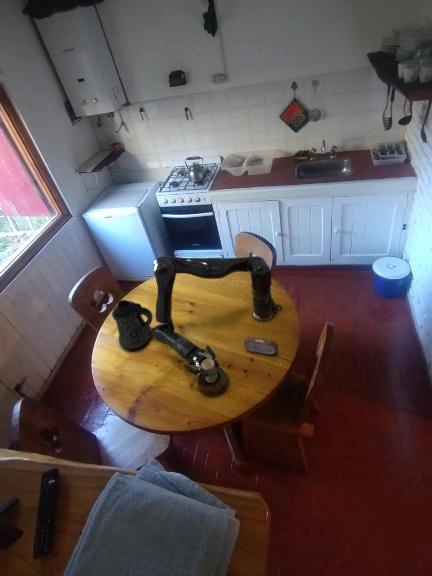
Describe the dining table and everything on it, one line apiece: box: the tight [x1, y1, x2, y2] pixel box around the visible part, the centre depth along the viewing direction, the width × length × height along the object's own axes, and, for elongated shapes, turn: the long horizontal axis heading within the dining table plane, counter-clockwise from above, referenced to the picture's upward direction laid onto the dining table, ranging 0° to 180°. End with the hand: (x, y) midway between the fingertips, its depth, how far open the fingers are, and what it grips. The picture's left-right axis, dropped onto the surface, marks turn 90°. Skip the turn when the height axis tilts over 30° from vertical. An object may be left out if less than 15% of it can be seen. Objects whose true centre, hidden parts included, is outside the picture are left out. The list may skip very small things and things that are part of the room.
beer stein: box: [111, 299, 153, 352], centre depth 166 cm, size 16×19×25 cm
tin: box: [243, 336, 279, 356], centre depth 153 cm, size 15×3×8 cm, turn 71°
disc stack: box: [200, 359, 218, 382], centre depth 141 cm, size 5×5×9 cm
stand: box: [197, 366, 229, 397], centre depth 145 cm, size 12×12×4 cm
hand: (213, 370), depth 138 cm, fingers closed on disc stack, 5 cm apart
